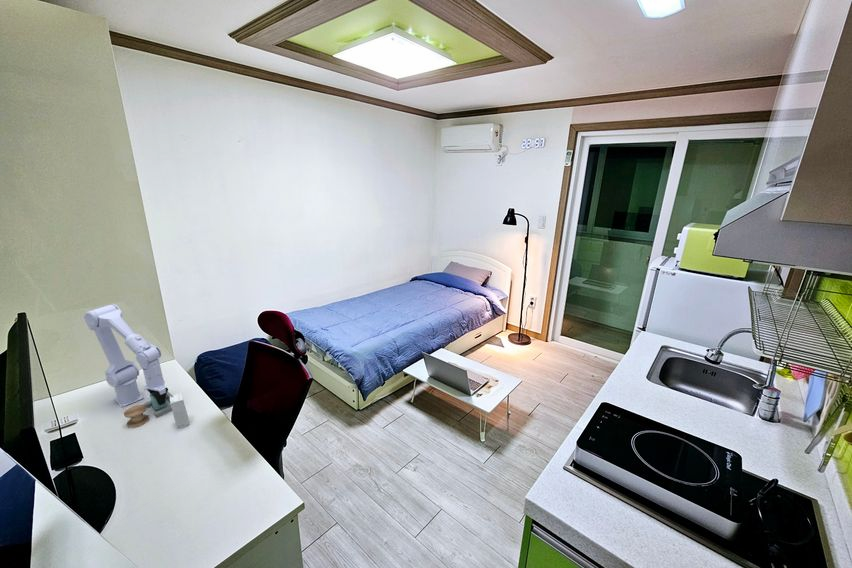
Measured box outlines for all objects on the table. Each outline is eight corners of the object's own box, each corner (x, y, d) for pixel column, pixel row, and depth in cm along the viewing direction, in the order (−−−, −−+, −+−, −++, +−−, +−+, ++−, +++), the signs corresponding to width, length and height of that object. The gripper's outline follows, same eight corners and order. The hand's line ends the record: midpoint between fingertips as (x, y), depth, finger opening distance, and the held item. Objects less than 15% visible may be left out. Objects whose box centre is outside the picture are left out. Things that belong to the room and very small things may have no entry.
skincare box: (189, 424, 139) (184, 399, 135) (176, 429, 136) (170, 403, 132) (188, 416, 143) (182, 392, 139) (174, 421, 140) (169, 396, 137)
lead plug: (152, 406, 147) (149, 393, 145) (163, 401, 150) (160, 388, 148) (156, 410, 145) (153, 396, 143) (167, 405, 148) (164, 392, 146)
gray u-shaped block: (145, 406, 149) (143, 400, 148) (168, 396, 155) (167, 390, 155) (156, 417, 142) (155, 411, 141) (180, 406, 149) (179, 401, 148)
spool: (124, 422, 139) (121, 411, 137) (145, 413, 144) (142, 402, 142) (130, 430, 135) (127, 418, 133) (152, 420, 140) (149, 408, 139)
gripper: (135, 373, 144) (142, 400, 148) (148, 385, 136) (155, 413, 140) (155, 366, 150) (161, 392, 154) (169, 377, 142) (175, 404, 146)
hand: (160, 402), depth 147 cm, fingers closed on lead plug, 4 cm apart
